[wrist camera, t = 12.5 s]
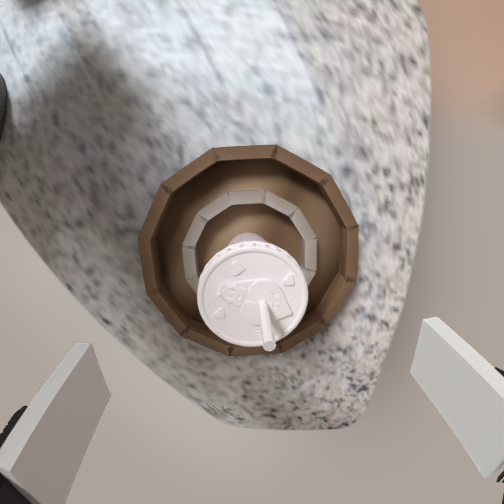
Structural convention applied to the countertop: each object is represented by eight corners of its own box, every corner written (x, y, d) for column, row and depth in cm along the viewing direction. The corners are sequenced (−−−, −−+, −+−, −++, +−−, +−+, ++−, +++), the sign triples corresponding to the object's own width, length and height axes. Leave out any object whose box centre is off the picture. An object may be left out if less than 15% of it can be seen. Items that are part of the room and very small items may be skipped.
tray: (124, 291, 27) (114, 303, 25) (203, 113, 23) (199, 107, 21) (286, 362, 30) (290, 378, 27) (379, 209, 26) (392, 214, 24)
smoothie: (268, 297, 27) (293, 406, 14) (201, 274, 26) (168, 374, 13) (296, 232, 26) (354, 299, 12) (225, 205, 25) (208, 249, 11)
